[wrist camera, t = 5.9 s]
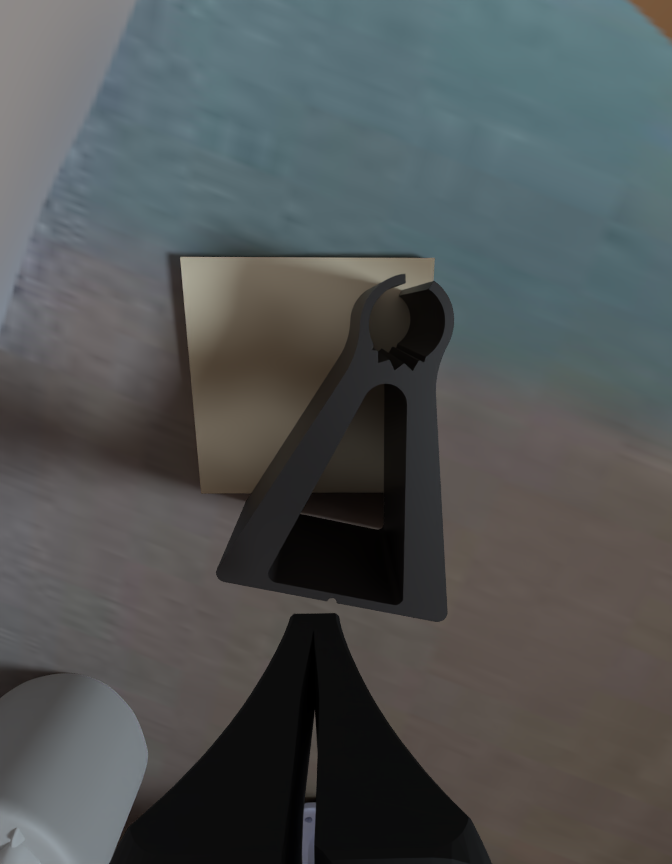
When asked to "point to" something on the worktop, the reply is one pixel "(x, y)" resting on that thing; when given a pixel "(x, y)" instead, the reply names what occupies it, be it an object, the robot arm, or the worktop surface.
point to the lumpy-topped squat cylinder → (66, 770)
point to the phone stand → (403, 478)
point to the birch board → (284, 359)
